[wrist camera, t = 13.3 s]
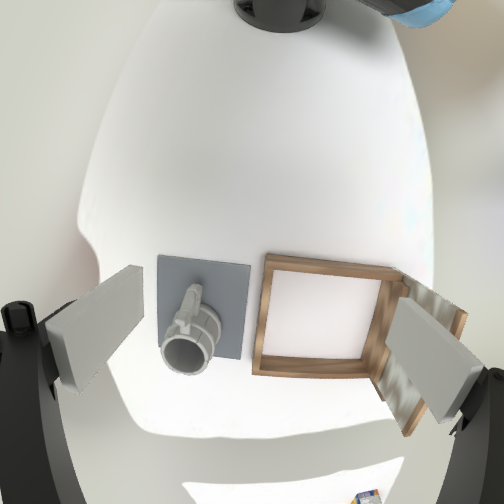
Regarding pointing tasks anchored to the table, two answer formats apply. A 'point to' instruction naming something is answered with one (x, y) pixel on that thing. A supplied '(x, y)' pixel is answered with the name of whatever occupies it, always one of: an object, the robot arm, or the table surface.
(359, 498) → the beverage box
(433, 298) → the box
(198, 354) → the mug
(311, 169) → the table surface
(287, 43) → the table surface
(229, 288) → the slate mat
